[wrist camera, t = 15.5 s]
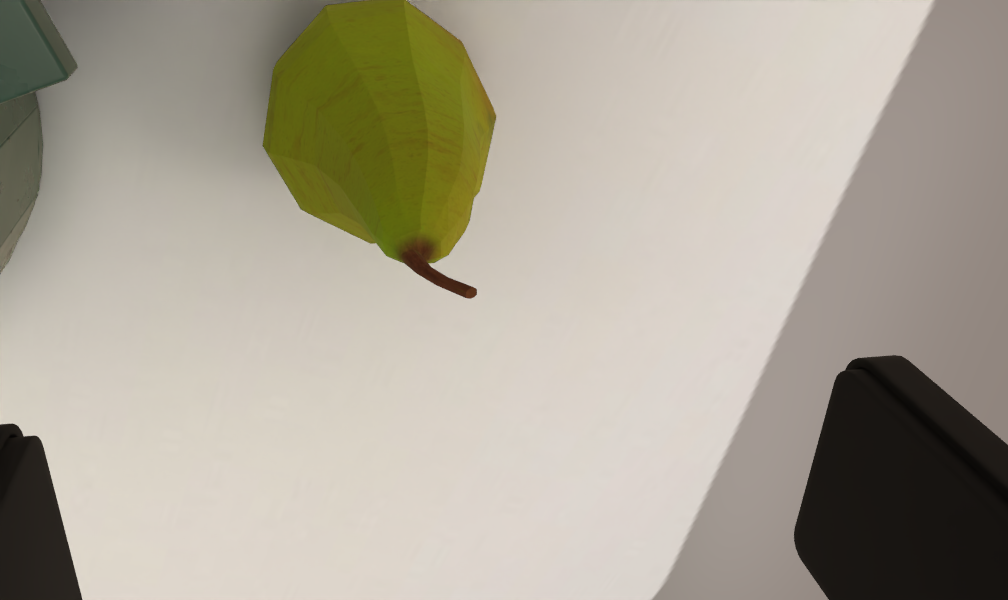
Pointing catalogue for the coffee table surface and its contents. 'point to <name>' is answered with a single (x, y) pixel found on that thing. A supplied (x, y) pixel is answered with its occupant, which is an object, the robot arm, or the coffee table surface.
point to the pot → (24, 108)
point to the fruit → (382, 130)
